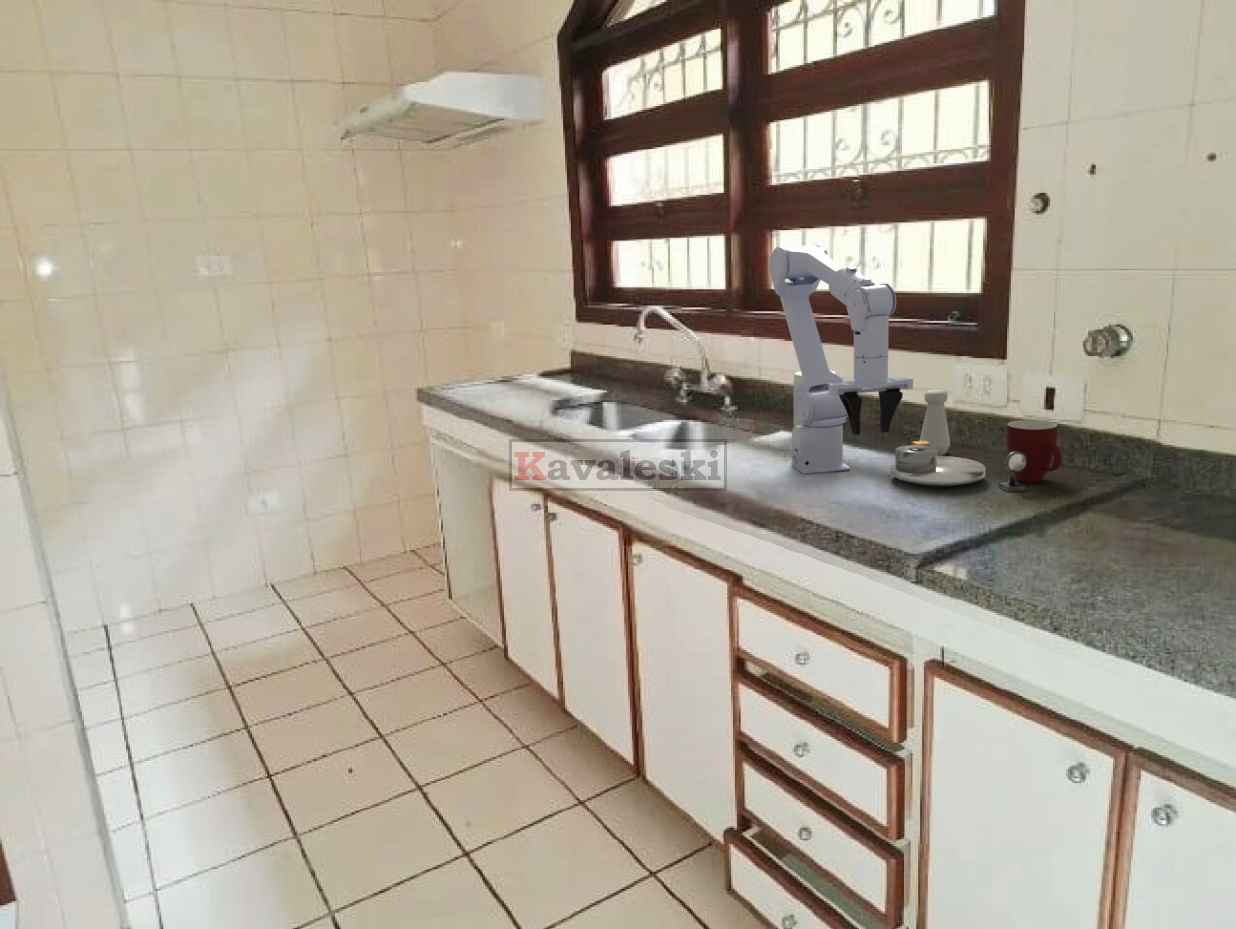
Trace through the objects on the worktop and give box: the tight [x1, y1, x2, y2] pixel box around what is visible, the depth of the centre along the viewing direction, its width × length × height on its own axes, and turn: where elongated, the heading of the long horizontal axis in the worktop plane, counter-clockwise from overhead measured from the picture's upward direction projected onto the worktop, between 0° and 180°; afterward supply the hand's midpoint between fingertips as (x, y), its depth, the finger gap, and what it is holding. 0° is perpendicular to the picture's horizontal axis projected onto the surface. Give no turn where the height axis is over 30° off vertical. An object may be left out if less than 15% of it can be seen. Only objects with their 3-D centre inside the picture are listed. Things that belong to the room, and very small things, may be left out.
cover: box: [894, 444, 937, 474], centre depth 151 cm, size 7×7×4 cm
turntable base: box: [912, 483, 964, 489], centre depth 152 cm, size 10×10×1 cm
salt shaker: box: [919, 388, 951, 456], centre depth 168 cm, size 6×6×13 cm
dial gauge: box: [998, 451, 1027, 493], centre depth 143 cm, size 4×3×7 cm
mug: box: [1005, 419, 1063, 484], centre depth 146 cm, size 11×8×10 cm
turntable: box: [890, 440, 986, 485], centre depth 151 cm, size 16×16×4 cm
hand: (870, 432), depth 149 cm, fingers open, 5 cm apart
